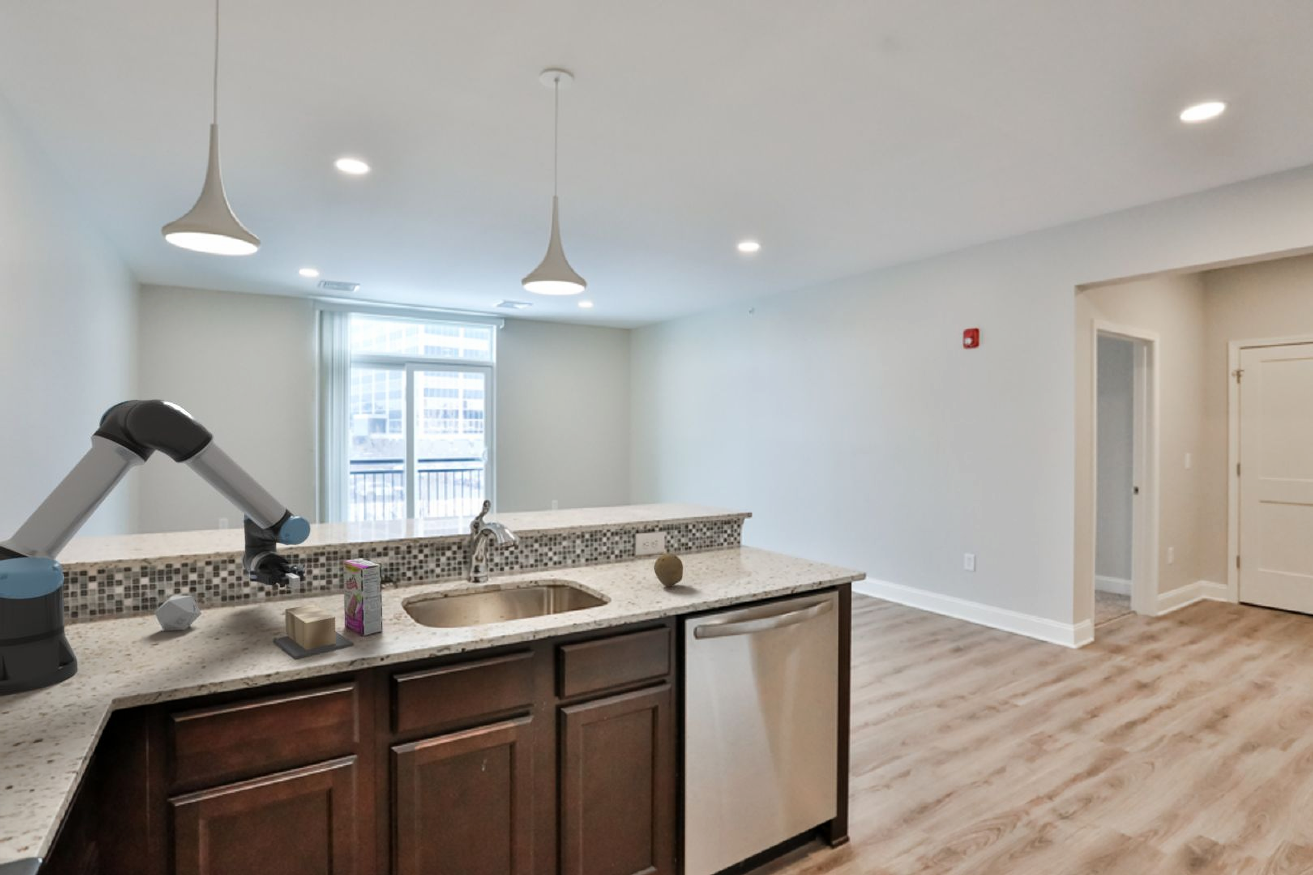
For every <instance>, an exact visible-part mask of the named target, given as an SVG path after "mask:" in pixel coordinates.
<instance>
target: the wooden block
mask: <svg viewBox="0 0 1313 875" xmlns="http://www.w3.org/2000/svg"><path fill="white" fill-rule="evenodd" d="M284 610H285V613H284V615H285V616H284V617H285V618H284V619H285V636H288V637H290V638H291V639H292V640H294V641H295V642H296V643H298V644H299V645H300V646H302V647H303V648H304V649H306V650H310V649H314V648H318V647H323V646H327V645H331V644H336V637H335V631H336V616H334V615H332V614H330V613H328V612H327V611H326V610H324V609H322V608H320V607H318V606H317V605H315V604H313V603H312V604H307V605H300V606H295V607H291V608H290V607H289V608H285V609H284Z"/></svg>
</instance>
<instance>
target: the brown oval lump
mask: <svg viewBox="0 0 1313 875" xmlns="http://www.w3.org/2000/svg"><path fill="white" fill-rule="evenodd" d="M653 570H654V574H655V575H656V578H657V579H658V581H659V582H660V583H661V584H662V586H664V587H668V588H670V587H673V586H675V585H676V584H678V583H681V581H682V580H683V574H684V564H683V561H682V560H681V559H680V558H679V557H678V556H677V555H675V554H673V553H671V552H670V553H668V552H666V553H664V554H662V555H660V556H659V557H658V558H657V559H656V560H655V562H654V564H653Z"/></svg>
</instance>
